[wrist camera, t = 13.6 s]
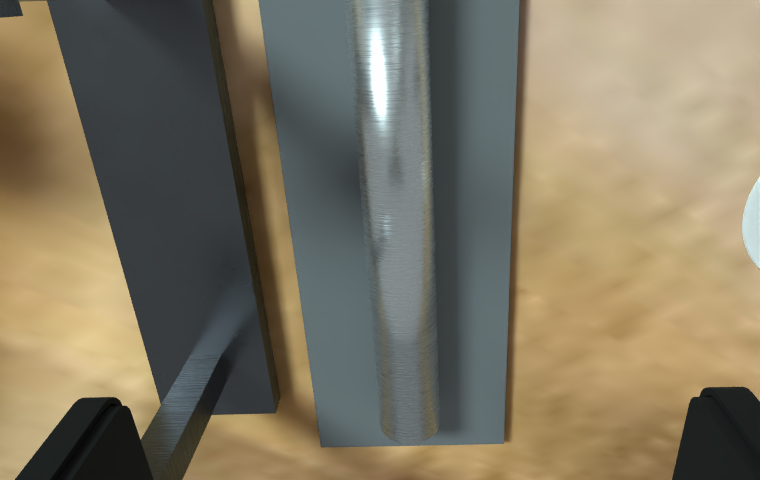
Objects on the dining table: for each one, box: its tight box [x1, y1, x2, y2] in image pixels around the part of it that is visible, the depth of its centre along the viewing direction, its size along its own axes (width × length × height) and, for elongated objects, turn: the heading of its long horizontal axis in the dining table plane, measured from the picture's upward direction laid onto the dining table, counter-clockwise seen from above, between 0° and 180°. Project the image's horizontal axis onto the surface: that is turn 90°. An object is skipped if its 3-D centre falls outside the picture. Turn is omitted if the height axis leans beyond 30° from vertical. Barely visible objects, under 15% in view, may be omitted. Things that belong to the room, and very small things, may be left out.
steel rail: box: [345, 0, 440, 444], centre depth 23 cm, size 24×3×3 cm, turn 4°
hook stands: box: [0, 0, 280, 480], centre depth 18 cm, size 6×24×16 cm, turn 4°
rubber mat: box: [259, 0, 519, 447], centre depth 25 cm, size 10×30×1 cm, turn 4°
